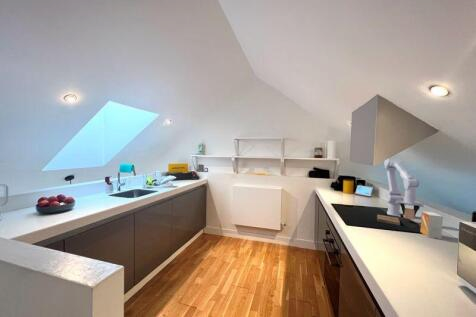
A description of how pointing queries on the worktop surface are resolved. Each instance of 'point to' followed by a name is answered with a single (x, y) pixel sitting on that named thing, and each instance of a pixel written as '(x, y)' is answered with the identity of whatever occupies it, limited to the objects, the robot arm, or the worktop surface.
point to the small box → (431, 224)
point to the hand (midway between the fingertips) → (408, 215)
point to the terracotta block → (409, 213)
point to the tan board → (388, 219)
